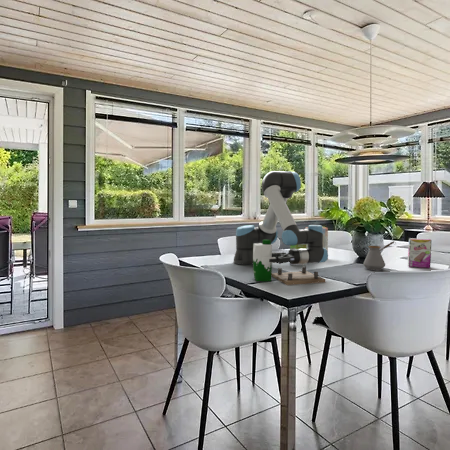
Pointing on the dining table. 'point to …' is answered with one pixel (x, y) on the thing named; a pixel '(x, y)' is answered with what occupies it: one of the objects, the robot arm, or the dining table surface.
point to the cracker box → (324, 238)
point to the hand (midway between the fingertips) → (257, 258)
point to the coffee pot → (375, 258)
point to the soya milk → (261, 270)
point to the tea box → (302, 246)
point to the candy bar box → (419, 253)
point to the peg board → (298, 277)
